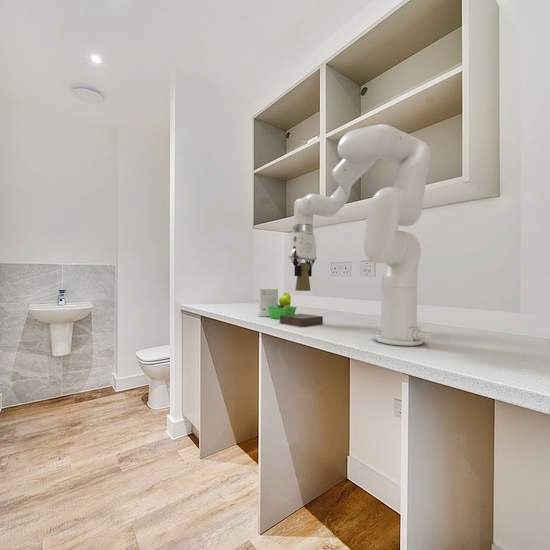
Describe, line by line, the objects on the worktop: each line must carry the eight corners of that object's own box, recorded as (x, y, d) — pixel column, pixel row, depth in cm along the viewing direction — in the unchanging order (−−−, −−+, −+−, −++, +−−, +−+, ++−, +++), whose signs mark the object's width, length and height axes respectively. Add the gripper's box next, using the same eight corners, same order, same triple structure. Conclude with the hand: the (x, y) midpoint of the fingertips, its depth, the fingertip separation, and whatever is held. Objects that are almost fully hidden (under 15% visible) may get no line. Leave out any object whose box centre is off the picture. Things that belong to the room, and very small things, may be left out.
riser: (322, 323, 123) (322, 316, 123) (301, 326, 115) (301, 318, 115) (300, 320, 132) (300, 313, 132) (279, 323, 124) (279, 315, 124)
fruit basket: (266, 318, 139) (266, 292, 139) (279, 316, 145) (279, 292, 146) (286, 320, 131) (286, 293, 131) (299, 318, 138) (299, 293, 138)
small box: (275, 314, 151) (276, 288, 151) (277, 316, 145) (278, 288, 145) (259, 315, 150) (259, 287, 150) (260, 316, 143) (260, 288, 144)
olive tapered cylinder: (305, 291, 119) (305, 262, 119) (292, 290, 123) (292, 262, 123) (313, 290, 124) (313, 263, 124) (300, 290, 127) (300, 263, 128)
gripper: (295, 226, 115) (294, 276, 115) (324, 231, 126) (324, 276, 126) (281, 229, 121) (280, 276, 120) (310, 233, 132) (310, 276, 132)
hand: (303, 275), depth 123 cm, fingers closed on olive tapered cylinder, 5 cm apart
